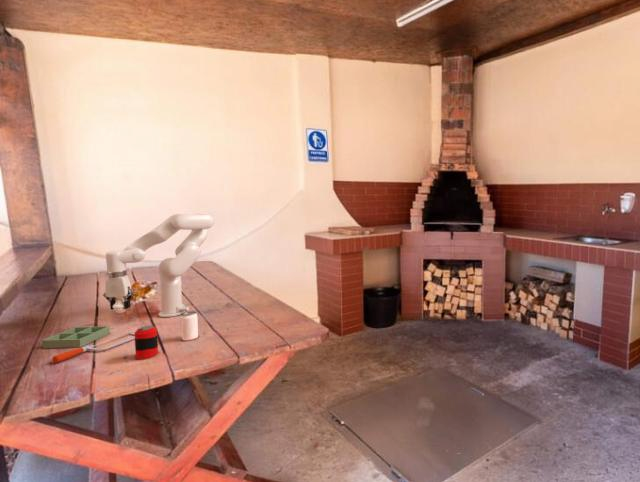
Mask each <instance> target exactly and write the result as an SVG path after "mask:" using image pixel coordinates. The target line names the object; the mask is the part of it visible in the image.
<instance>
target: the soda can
mask: <svg viewBox="0 0 640 482" xmlns="http://www.w3.org/2000/svg"><path fill="white" fill-rule="evenodd" d="M134 333H135V335H134V337H135V339H134V348H135V350H134V351H135V358H136V360H147V359H151V358H154V357H155V356H157V355H158V354H159V343H158V341H159V340H158V328H157V327H156V326H154V325H144V326H141V327H139V328H137V329H136V330H135V332H134Z"/></svg>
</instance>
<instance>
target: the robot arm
mask: <svg viewBox="0 0 640 482" xmlns="http://www.w3.org/2000/svg"><path fill="white" fill-rule="evenodd" d="M214 223H215V220H214V218H213V217H212V215H209V214H204V213H196V214H184V213H174V214H172V215H170V216H169V217H168V218H166V219H165V220H164V221H162V222H161V223H160V224H159V225H157V226H156V227H155V228H153V229H152V230H150V231H149V232H146V233H145V234H144V235H142V236H140V237H138V238H136V240H134V241H133V242H131V243H130V244H128V245H127V246H126V247H125V248H124V249H114V250H109V251H107V252H106V253H105V263H106V272H105V275H106V276H107V277H106V278H105V284H104V292H103V294H102V296H103V297H104V298H105V300H107V301H108V303H109V307H110V310H111V311H113V310H114V308H113V305H114V304H115V303H116V300H117V299H116V298H122V299H124V300H125V302H124V308H125V309H126V310H127V309H130V308H131V307H132V306H131V300H132V298H134V296H135V295H136V292H135V291H134V290H133V289H132V284H131V280H130V277H129V275H128V270H127V264H135V263H139V262H142V261H143V260H144V259H145V258H146V253H145V251H147V250H148V249H150V248H151V247H153V246H157V245H159V244H162V243H164V242H166V241H168V240H169V239H170V238H171V237H172V236H174V235H175V234H176V233H177V232H179V231H180V230H185V231H186V230H189V231H190V230H191V231H190V233H189V234H188V235H187V236H186V238H185V239H184V240H183V241H182V242H181V243H179V245H178V246H176V248H175V250H174V254H175V257H167V258H164V259H163V260H161V262H159V264H158V275H159V280H160V300H161V301H160V302H161V311H159V313H158V317H159V318H160V317H161V318H170V317H171V318H173V317H176V316H181V315H182V314H183V313H186V312H189V309H190V306H188V305H187V306H185V303H183V290H182V289H183V288H182V285H183V284H182V283H183V282H182V276H183V275H184V274H185V273H187V271H189V270H190V268H191V267H192V266H193V265H194V264H195V263H196V261H198V259H199V257H200V256H201V252H202V251H201V248H200V247H201V245H203V244H204V242H205V241H206V240H207V237H208V234H209V229H211V228H212V227H213V226H214Z"/></svg>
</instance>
